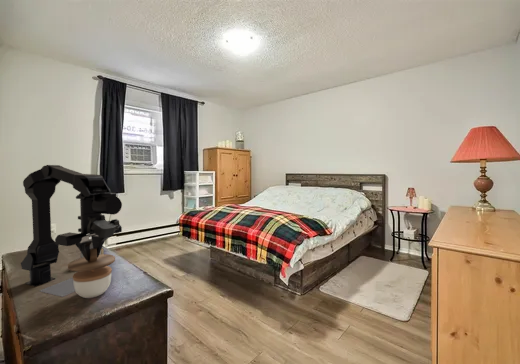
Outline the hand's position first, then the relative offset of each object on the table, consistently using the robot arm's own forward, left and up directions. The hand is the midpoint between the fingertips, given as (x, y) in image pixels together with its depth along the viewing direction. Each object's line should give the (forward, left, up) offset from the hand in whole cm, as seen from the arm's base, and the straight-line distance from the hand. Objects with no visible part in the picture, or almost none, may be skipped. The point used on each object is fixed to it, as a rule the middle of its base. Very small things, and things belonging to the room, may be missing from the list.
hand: (92, 258), depth 81 cm
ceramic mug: (-26, +19, -12) cm, 34 cm away
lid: (0, 0, -2) cm, 2 cm away
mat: (-13, +1, -12) cm, 18 cm away
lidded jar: (0, 0, -12) cm, 12 cm away
